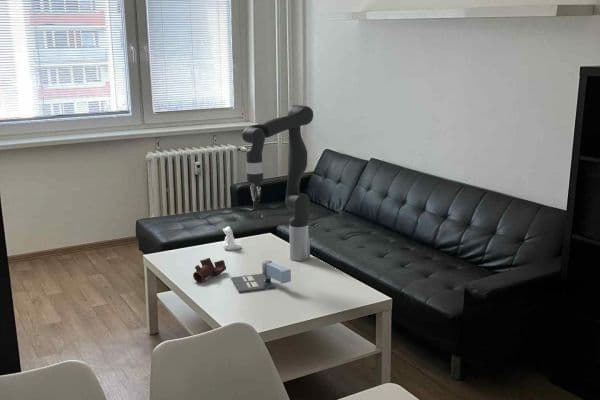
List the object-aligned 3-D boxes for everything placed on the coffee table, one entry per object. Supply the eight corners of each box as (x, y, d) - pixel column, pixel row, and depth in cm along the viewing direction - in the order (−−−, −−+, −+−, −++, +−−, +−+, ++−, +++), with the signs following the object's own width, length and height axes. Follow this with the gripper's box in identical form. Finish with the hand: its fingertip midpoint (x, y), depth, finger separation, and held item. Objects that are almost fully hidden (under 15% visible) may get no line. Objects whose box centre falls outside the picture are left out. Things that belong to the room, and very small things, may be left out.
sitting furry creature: (243, 248, 361) (242, 226, 358) (231, 252, 355) (229, 229, 352) (230, 245, 367) (229, 223, 364) (218, 248, 361) (217, 226, 358)
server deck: (266, 275, 320) (265, 267, 319) (276, 288, 304) (275, 280, 303) (231, 279, 316) (230, 271, 315) (239, 293, 299) (238, 285, 298)
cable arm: (260, 273, 311) (259, 261, 310) (269, 271, 314) (268, 259, 312) (281, 283, 298) (281, 271, 296) (290, 281, 300) (290, 269, 299)
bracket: (230, 267, 324) (220, 249, 322) (207, 285, 311) (196, 266, 309) (221, 270, 327) (211, 251, 326) (198, 288, 315) (188, 269, 313)
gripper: (266, 173, 307) (267, 211, 311) (259, 168, 319) (260, 204, 323) (249, 175, 305) (251, 213, 309) (243, 169, 317) (245, 206, 321)
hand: (256, 208), depth 316 cm, fingers closed
